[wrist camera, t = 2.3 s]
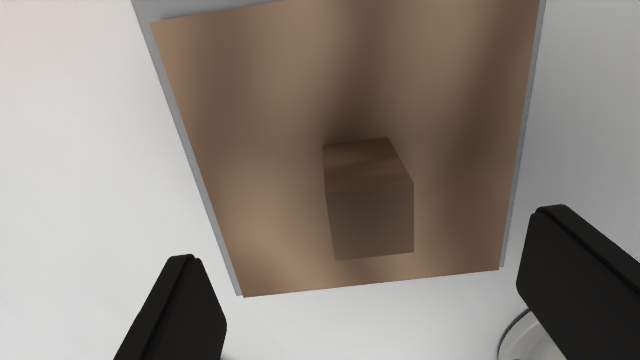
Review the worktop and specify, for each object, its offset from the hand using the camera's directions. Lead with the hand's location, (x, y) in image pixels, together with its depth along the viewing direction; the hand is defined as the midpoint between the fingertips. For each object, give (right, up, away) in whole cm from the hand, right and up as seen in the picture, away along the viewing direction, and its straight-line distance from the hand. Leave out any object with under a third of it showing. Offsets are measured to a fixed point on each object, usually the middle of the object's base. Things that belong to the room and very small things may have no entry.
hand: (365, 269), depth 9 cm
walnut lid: (+1, +4, +8) cm, 9 cm away
